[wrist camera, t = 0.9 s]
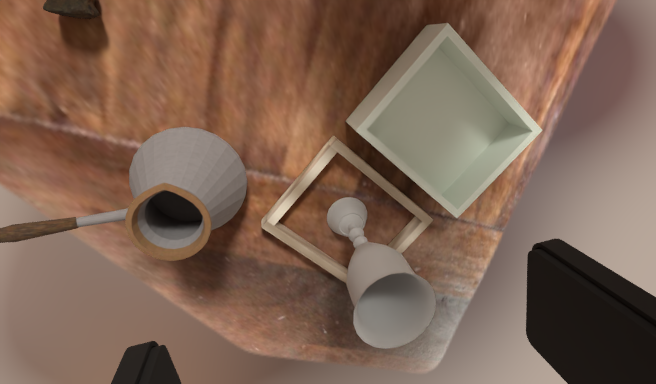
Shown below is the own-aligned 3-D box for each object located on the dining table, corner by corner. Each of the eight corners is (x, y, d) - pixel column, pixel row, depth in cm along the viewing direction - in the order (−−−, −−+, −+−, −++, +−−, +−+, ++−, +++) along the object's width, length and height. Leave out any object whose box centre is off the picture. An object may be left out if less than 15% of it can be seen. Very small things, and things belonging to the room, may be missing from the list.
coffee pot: (246, 121, 41) (239, 162, 27) (249, 219, 45) (245, 298, 31) (21, 120, 37) (-119, 166, 23) (47, 226, 41) (-58, 319, 28)
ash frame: (333, 134, 43) (336, 139, 41) (427, 213, 49) (433, 220, 47) (261, 219, 45) (261, 227, 43) (358, 285, 51) (362, 294, 49)
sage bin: (426, 24, 40) (448, 23, 36) (514, 121, 46) (542, 130, 41) (345, 121, 43) (355, 130, 38) (438, 201, 48) (456, 218, 44)
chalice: (368, 244, 49) (424, 348, 32) (315, 241, 47) (346, 349, 31) (379, 190, 46) (445, 273, 30) (324, 186, 45) (361, 270, 28)
